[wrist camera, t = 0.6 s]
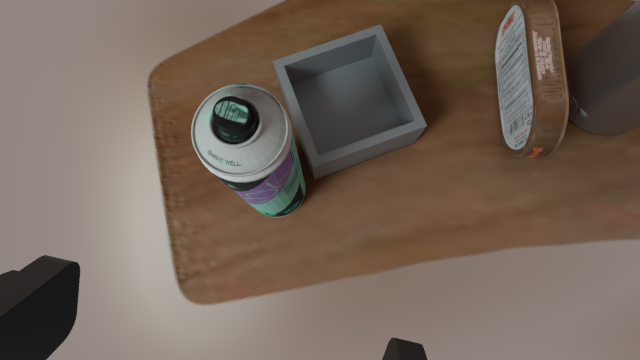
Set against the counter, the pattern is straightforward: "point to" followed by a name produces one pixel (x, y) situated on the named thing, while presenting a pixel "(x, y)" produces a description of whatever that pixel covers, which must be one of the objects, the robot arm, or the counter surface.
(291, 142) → the spray can
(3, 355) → the robot arm
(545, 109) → the tin
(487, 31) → the counter surface
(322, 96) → the box
